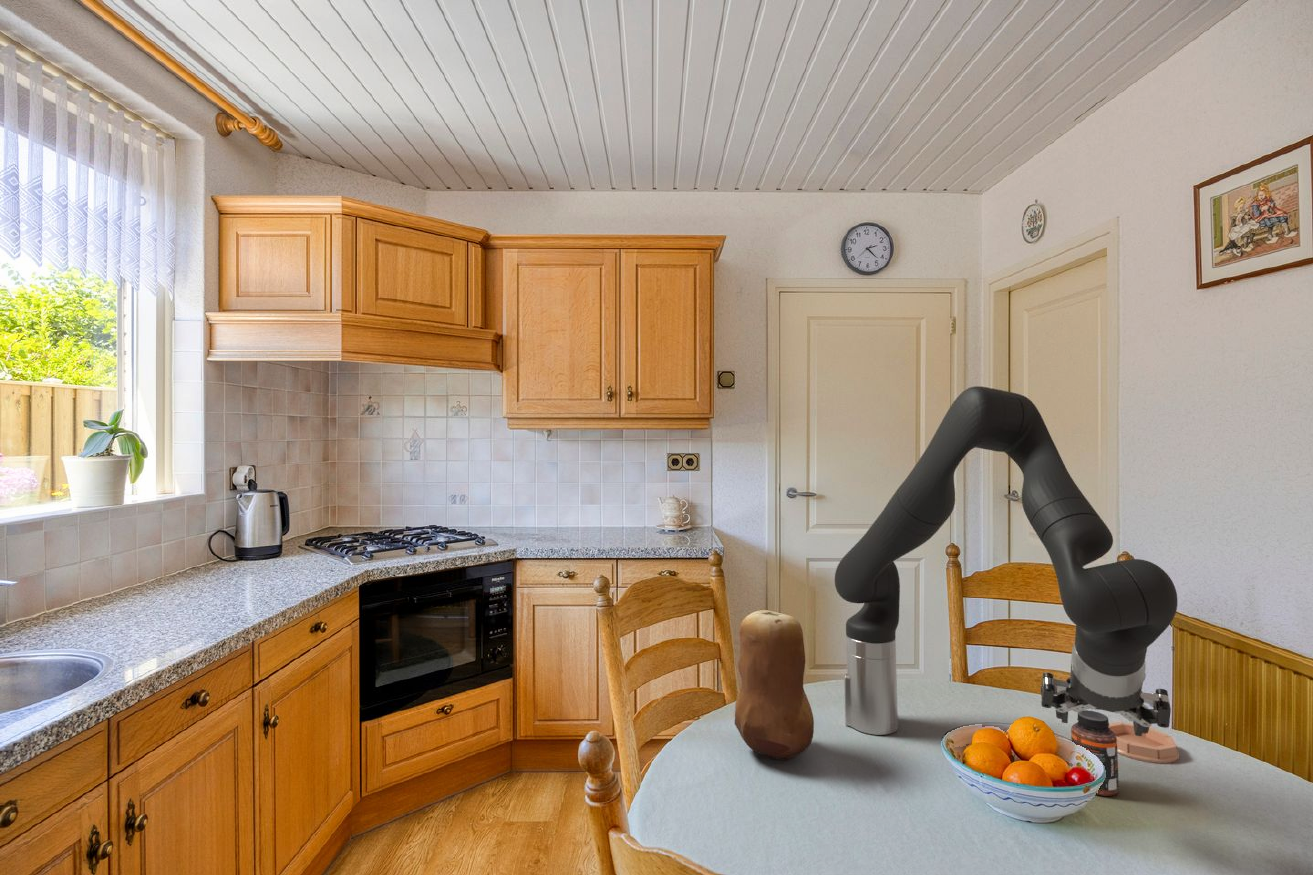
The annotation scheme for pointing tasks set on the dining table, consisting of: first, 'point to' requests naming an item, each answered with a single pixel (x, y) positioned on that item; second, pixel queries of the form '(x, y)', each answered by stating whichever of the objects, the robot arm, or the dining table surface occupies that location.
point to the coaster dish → (1144, 744)
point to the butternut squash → (773, 686)
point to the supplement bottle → (1098, 746)
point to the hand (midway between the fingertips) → (1099, 722)
